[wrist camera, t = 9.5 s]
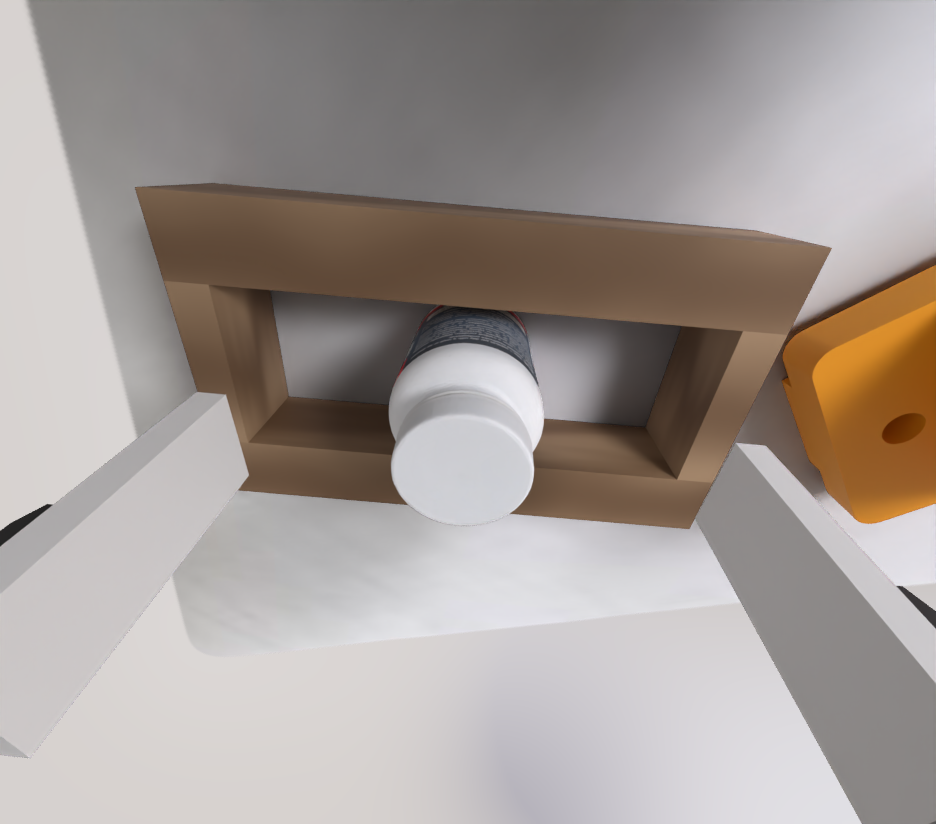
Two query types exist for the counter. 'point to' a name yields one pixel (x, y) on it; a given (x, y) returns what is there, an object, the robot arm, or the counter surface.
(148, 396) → the counter surface
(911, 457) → the bracket
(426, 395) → the pill bottle
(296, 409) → the brown open rectangular frame
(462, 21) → the counter surface
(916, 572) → the counter surface
